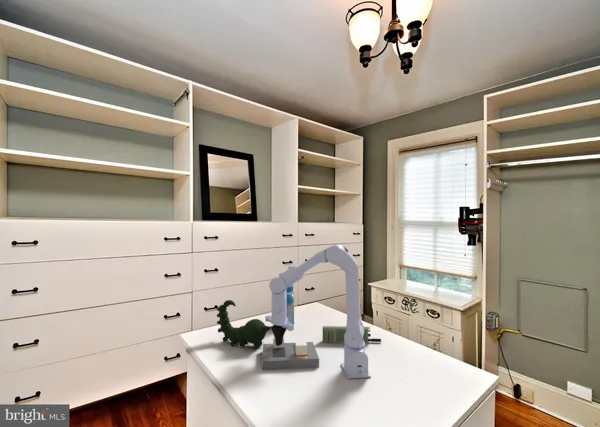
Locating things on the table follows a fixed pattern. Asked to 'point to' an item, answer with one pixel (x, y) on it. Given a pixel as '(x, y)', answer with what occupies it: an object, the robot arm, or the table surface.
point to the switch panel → (288, 357)
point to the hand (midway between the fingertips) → (278, 344)
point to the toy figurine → (241, 329)
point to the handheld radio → (342, 334)
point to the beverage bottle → (290, 304)
